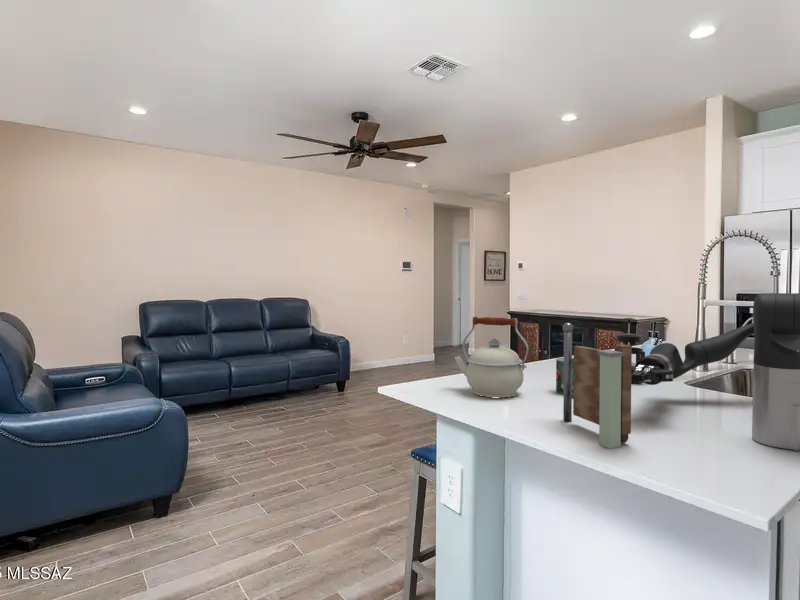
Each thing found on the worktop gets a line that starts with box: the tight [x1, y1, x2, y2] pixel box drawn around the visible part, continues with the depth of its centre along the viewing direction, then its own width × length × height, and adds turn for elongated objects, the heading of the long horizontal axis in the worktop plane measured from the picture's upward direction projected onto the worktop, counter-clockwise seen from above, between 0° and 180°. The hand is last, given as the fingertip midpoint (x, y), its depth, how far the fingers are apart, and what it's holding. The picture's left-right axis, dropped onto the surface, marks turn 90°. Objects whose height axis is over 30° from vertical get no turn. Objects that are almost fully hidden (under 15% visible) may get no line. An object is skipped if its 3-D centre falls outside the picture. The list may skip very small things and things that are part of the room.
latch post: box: [598, 349, 624, 450], centre depth 99 cm, size 4×4×21 cm
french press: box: [614, 317, 646, 385], centre depth 163 cm, size 12×9×23 cm
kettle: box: [454, 316, 530, 398], centre depth 148 cm, size 25×18×25 cm
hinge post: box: [562, 322, 574, 423], centre depth 117 cm, size 3×3×26 cm
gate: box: [570, 344, 633, 444], centre depth 108 cm, size 18×3×22 cm, turn 19°
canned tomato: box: [555, 357, 574, 396], centre depth 147 cm, size 8×8×11 cm
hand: (636, 378), depth 111 cm, fingers closed
